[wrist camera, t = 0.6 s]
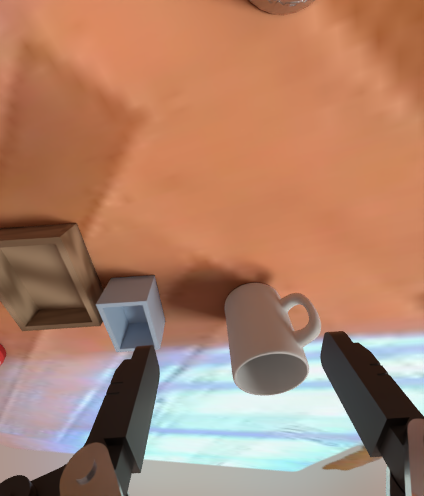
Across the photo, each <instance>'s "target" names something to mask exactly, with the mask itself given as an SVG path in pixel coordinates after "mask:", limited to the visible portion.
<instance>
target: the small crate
mask: <svg viewBox="0 0 424 496" xmlns="http://www.w3.org/2000/svg"><path fill="white" fill-rule="evenodd" d="M96 306H97V308H98V311H99V313H100V315H101V318H102V320H103V322H104V324H105V327H106V329H107V331H108V334H109V336H110V338H111V340H112V343H113V345H114V347H115V350H116V352H127V351H134V350H135V348H136V347H137V346H146V345H153V346H154V348H155V350H157V349H160V346H161V341H162V336H163V330H164V325H165V317H164V313H163V309H162V304H161V300H160V296H159V292H158V287H157V283H156V279H155V275H150V276H135V277H119V278H111V279H110V281H109V282H108V284H107V286H106V288H105V289H104V291H103V293H102V294H101V296H100V298H99V300H98V301H97V303H96Z"/></svg>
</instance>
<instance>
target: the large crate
mask: <svg viewBox="0 0 424 496" xmlns="http://www.w3.org/2000/svg"><path fill="white" fill-rule="evenodd" d="M102 293H103V289H102V286H101V284H100V281H99V278H98V276H97V273H96V271H95V268H94V266H93V263H92V261H91V258H90V256H89V253H88V251H87V248H86V246H85V243H84V241H83V238H82V236H81V233H80V231H79V228H78V226H77V223H74V224H59V225H43V226H28V227H13V228H0V301H1V302H2V304H3V305H4V307H5V308H6V309H7V311H8V312H9V313H10V315H11V316H12V318H13V319H14V320H15V322H16V323H17V324H18V326H19V327H20V329H21V330H22V331H31V330H46V329H61V328H76V327H91V326H101V324H102V322H103V320H102V318H101V315H100V313H99V311H98V308H97V306H96V303H97V301H98V300H99V298H100V296H101V294H102Z"/></svg>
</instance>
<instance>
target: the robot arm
mask: <svg viewBox="0 0 424 496" xmlns="http://www.w3.org/2000/svg"><path fill="white" fill-rule="evenodd" d="M249 1H250V2H252V3H253V4H254V5H255V6H257V7H258V8H259V9H261V10H263V11H266V12H268V13H271V14H279V15H285V14H290V13H295V12H297V11H299V10H301V9H303V8H305V7H307V6H309V5H310V4H311V3H313V2H314V1H315V0H249ZM320 357H321V363H322V367H323V369H324V371H325V373H326V375H327V377H328V379H329V380H330V382H331V384H332V386H333V388H334V390H335V392H336V393H337V395H338V397H339V399H340V401H341V403H342V405H343V407H344V408H345V410H346V412H347V414H348V416H349V418H350V420H351V421H352V423H353V425H354V427H355V429H356V431H357V433H358V434H359V436H360V438H361V440H362V442H363V444H364V446H365V448H366V449H367V451H368V453H369V455H370V457H380V456H382V457H383V459H384V460H385V462H386V464H387V470H386V496H424V416H423V415H422V414H421V413H420V412H419V410H418V409H417V408H416V407H415V406H414V404H413V403H412V402H411V401H410V399H409V398H408V397H407V396H406V394H405V393H404V392H403V391H402V390H401V388H400V387H399V386H398V385H397V383H396V382H395V381H394V380H393V379H392V377H391V376H390V375H388V372H387V371H386V370H385V369H384V368H383V366H381V365H380V363H379V361H378V360H377V359H376V358H375V356H374V355H373V354H372V353H371V352H370V351H369V350H368V349H366V348H365V347H364V346H362V345H361V344H359V343H353V342H352V341H351V339H350V338H349V337H348V335H347V334H346V333H345V332H343V331H338V332H326V333H325V334H324V338H323V344H322V350H321V356H320ZM159 375H160V371H159V364H158V360H157V356H156V352H155V348H154V346H153V345H146V346H137V347H136V348H135V350H134V353H133V356H132V358H131V359H127V360H124V361H123V362H122V363H121V364H120V366H119V367H118V368H117V369H116V370H115V373H114V375H113V378H112V380H111V384H110V385H109V388H108V390H107V393H106V396H105V398H104V400H103V403H102V405H101V407H100V410H99V412H98V415H97V417H96V420H95V422H94V425H93V427H92V430H91V432H90V435H89V437H88V439H87V441H86V443H85V445H84V446H83V448H81V449H80V450H79V451H77V452H76V453H75V454H74V455H73V457H72V458H71V459H70V460H69V462H68V463H67V464H65V465H64V466H62V467H61V468H59V469H57V470H54V471H52V472H50V473H48V474H46V475H43V476H41V477H39V478H37V479H35V480H32V481H29V479H28V478H27V477H25V476H22V475H17V476H13V477H11V478H8V479H7V480H5V481H3V482H2V483H0V496H129V493H128V487H129V482H130V478H131V473H141V469H142V464H143V459H144V454H145V449H146V444H147V439H148V434H149V429H150V424H151V419H152V414H153V409H154V404H155V399H156V394H157V388H158V383H159Z"/></svg>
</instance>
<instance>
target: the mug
mask: <svg viewBox="0 0 424 496" xmlns="http://www.w3.org/2000/svg"><path fill="white" fill-rule="evenodd" d="M298 304H301V305H303V306H304V307H305V308H306V310H307V312H308V315H309V323H308V324H307V326H306V327H304V328H303V329H301V330H298V331H294V329H293V326H292V324H291V321H290V318H289V316H288V311H289V310H290V309H291V308H292V307H293V306H295V305H298ZM225 316H226V323H227V331H228V340H229V349H230V357H231V366H232V374H233V380H234V382H235V384H236V385H237V386H238V387H239V388H240V389H241V390H243V391H244V392H247V393H250V394H254V395H275V394H280V393H284V392H287V391H289V390H291V389H293V388H295V387H297V386H298V385H300V384H301V383H302V382H303V381H304V380H305V379H306V377H307V375H308V373H309V365H308V362H307V359H306V356H305V353H304V350H303V347H304V346H306V345H307V344H309V343H310V342H312V341H313V340H314V339H316V338H317V336H318V335H319V333H320V331H321V322H320V318H319V315H318V313H317V311H316V309H315V307H314V306H313V304H312V303H311V302H310V300H309V299H308V298H307V297H305V296H304V295H302V294H300V293H292V294H290V295H288V296H286V297H284V298H282V299H281V298H280V296H279V294H278V292H277V291H276V290H275V289H274V288H272V287H271V286H269V285H266V284H263V283H248V284H244V285H241V286H239V287H237V288H236V289H234V290H233V291H232V292H231V293H230V294H229V295H228V297H227V299H226V301H225Z"/></svg>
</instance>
